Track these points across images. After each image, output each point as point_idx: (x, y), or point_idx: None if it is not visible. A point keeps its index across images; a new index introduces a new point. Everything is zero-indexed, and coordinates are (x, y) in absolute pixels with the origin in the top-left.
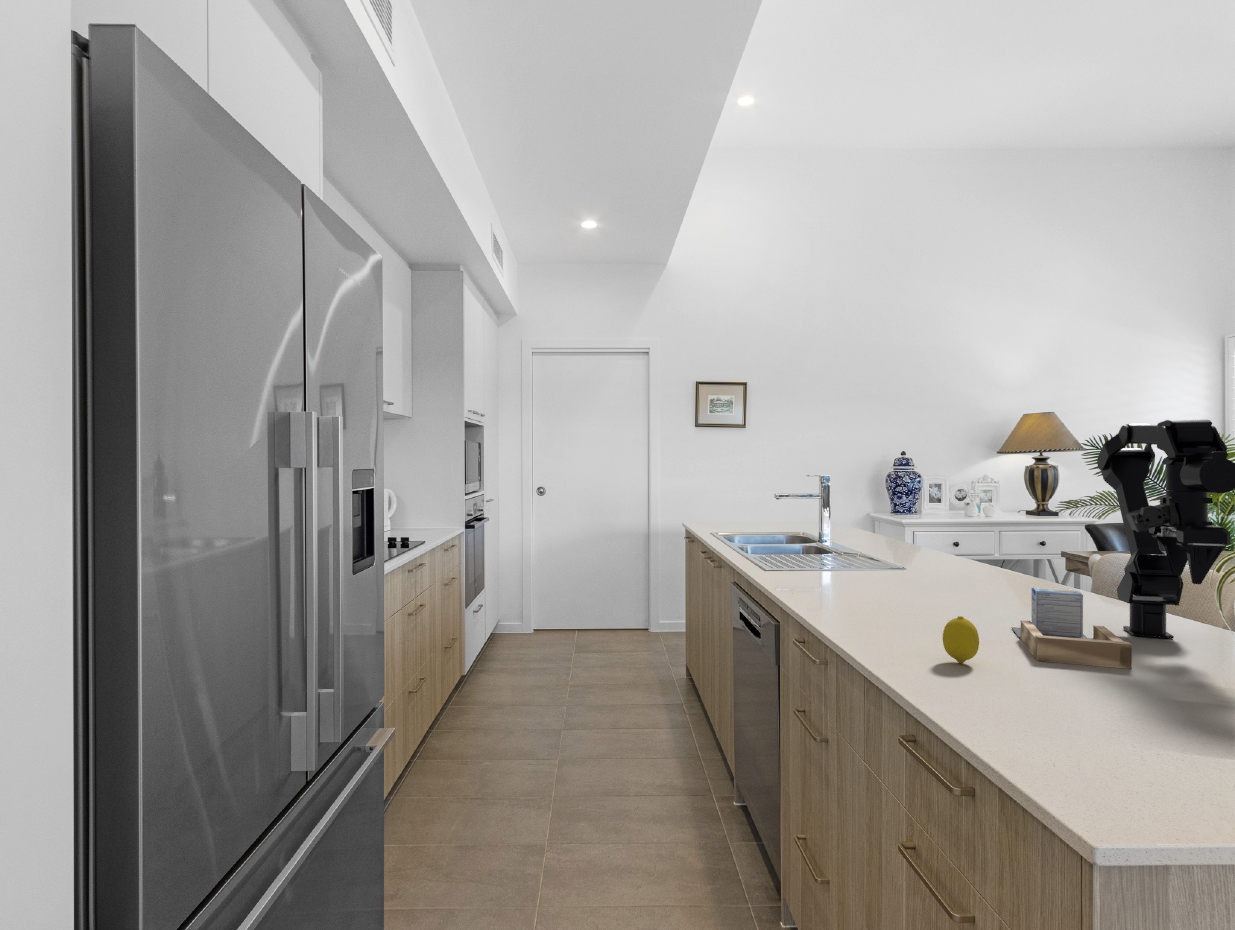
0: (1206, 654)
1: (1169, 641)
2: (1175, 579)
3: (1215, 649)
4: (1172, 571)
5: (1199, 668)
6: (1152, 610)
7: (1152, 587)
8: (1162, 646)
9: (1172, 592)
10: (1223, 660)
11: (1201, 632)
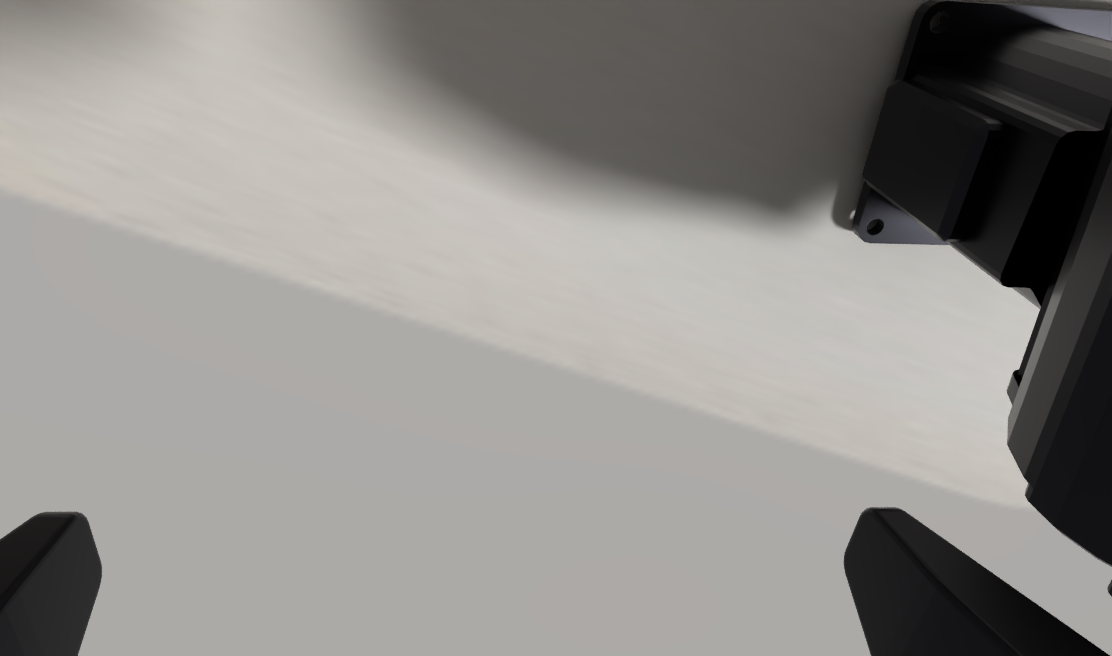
0: (509, 271)
1: (801, 190)
2: (1098, 517)
3: (646, 354)
4: (913, 536)
5: (88, 96)
6: (1000, 188)
7: (1094, 261)
8: (655, 93)
9: (1018, 402)
10: (390, 303)
11: None
